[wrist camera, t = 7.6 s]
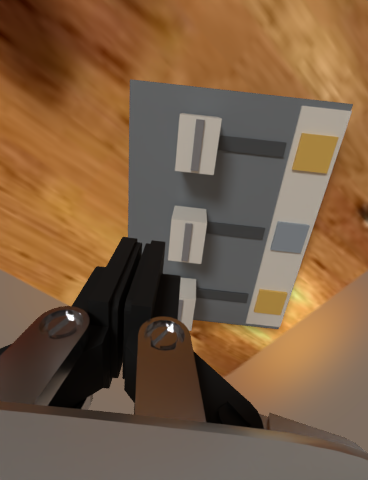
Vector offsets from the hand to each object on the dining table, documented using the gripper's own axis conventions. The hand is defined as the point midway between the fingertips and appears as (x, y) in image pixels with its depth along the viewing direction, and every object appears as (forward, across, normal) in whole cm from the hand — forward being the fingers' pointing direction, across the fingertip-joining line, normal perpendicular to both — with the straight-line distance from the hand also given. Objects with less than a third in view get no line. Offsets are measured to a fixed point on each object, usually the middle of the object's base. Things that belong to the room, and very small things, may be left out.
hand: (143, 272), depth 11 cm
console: (+20, -5, +4) cm, 21 cm away
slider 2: (+16, -2, +4) cm, 17 cm away
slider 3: (+16, -2, +12) cm, 20 cm away
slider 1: (+16, -2, -4) cm, 16 cm away
